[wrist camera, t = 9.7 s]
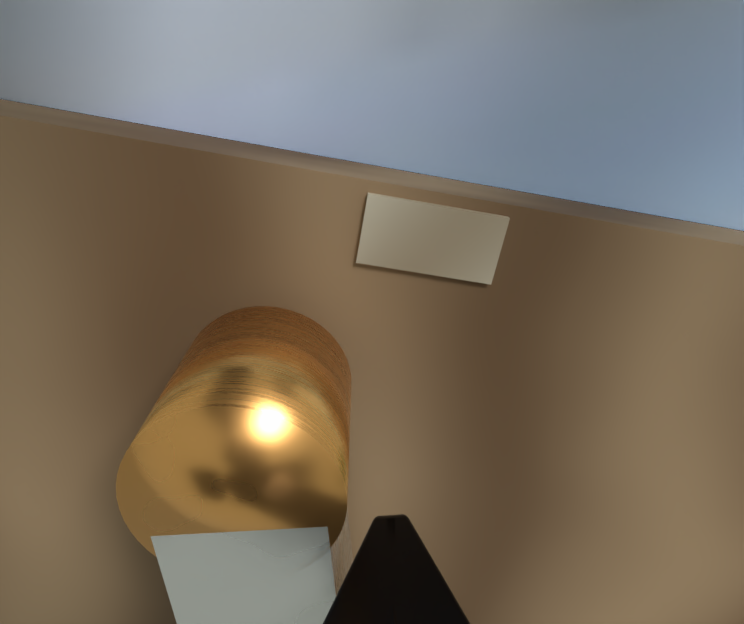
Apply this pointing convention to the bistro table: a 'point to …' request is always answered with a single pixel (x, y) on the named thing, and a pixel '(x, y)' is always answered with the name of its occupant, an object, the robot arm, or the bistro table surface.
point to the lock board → (376, 368)
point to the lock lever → (247, 473)
